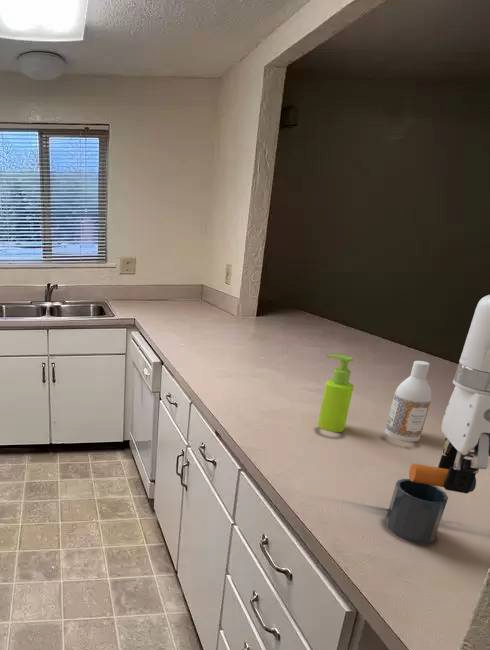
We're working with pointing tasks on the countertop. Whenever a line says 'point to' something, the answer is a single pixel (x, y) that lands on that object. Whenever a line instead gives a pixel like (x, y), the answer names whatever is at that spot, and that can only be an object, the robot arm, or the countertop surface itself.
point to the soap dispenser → (336, 397)
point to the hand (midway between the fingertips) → (451, 483)
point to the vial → (431, 475)
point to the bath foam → (410, 405)
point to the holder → (416, 510)
